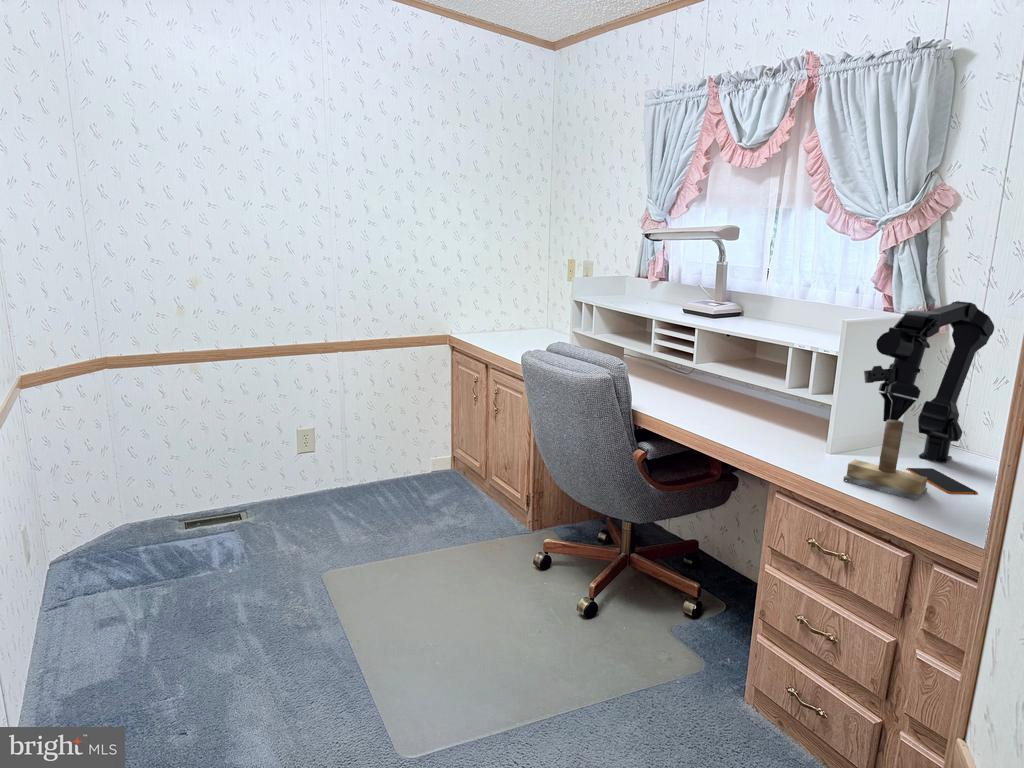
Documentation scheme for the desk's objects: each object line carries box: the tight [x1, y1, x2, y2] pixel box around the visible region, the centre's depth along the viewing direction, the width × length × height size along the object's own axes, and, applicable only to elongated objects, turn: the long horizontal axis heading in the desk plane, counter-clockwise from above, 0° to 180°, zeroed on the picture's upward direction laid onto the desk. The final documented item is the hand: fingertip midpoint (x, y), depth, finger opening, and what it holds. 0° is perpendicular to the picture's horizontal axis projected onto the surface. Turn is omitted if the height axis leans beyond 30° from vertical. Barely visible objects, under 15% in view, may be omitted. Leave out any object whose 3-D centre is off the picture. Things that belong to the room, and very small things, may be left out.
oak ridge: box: [842, 459, 928, 501], centre depth 162 cm, size 16×8×4 cm, turn 44°
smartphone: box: [905, 467, 979, 495], centre depth 167 cm, size 8×17×1 cm, turn 3°
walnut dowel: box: [878, 420, 904, 473], centre depth 160 cm, size 4×4×12 cm
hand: (888, 422), depth 170 cm, fingers open, 9 cm apart
